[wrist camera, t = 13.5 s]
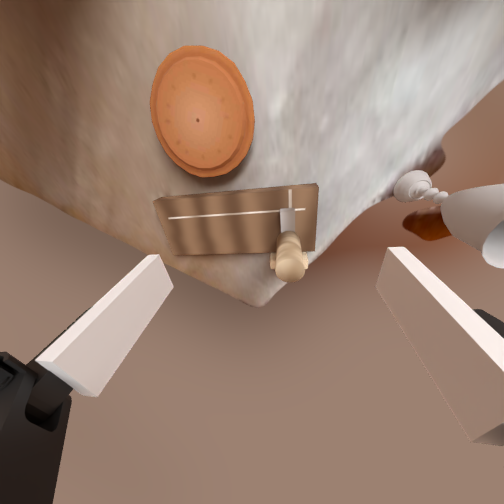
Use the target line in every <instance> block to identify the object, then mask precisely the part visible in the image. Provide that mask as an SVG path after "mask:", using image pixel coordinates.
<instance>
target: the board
mask: <svg viewBox="0 0 504 504" xmlns="http://www.w3.org/2000/svg"><path fill="white" fill-rule="evenodd" d="M318 191H319V187H318V185H317V184H316V183H312V184H301V185H290V186H279V187H269V188H258V189H247V190H236V191H225V192H214V193H203V194H192V195H181V196H170V197H161V198H159V199H157V200H155V201H153V204H154V206H155V209H156V211H157V214H158V216H159V219H160V222H161V224H162V227H163V229H164V232H165V235H166V237H167V240H168V242H169V245H170V247H171V250H172V253H173V255H200V254H234V253H269V252H276V249H277V238H278V236H279V235H280V234H281V219H280V209H283V208H295V233H296V234H297V235H298V236H299V239H300V244H301V250H302V252H304V251H315V239H316V223H317V207H318Z"/></svg>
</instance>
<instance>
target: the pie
mask: <svg viewBox="0 0 504 504" xmlns="http://www.w3.org/2000/svg"><path fill="white" fill-rule="evenodd" d="M150 109H151V117H152V123H153V125H154V128H155V131H156V134H157V137H158V139H159V141H160V143H161V145H162V146H163V148H164V150H165V152H166V153H167V154H168V156H169V157H170V158H171V159H172V160H173V161H174V162H175V163H176V164H177V165H178V166H180V167H181V168H183V169H184V170H186V171H187V172H188V173H191V174H193V175H196V176H199V177H215V176H219V175H223V174H227V173H228V172H230V171H231V170H233V169H234V168H235V167H237V166H238V165H239V163H240V162H241V161H242V160H243V158H244V157H245V156H246V155H247V153H248V150H249V148H250V145H251V143H252V140H253V133H254V123H255V119H254V110H253V101H252V98H251V95H250V93H249V90H248V88H247V85H246V82H245V80H244V79H243V77H242V75H241V74H240V72H239V70H238V68H237V67H236V65H235V63H234V62H232V61H231V60H230V59H228V58H227V57H226V56H225V55H223V54H222V53H221V52H219V51H217V50H214V49H211V48H208V47H205V46H183V47H181V48H179V49H177V50H175V51H173V52H172V53H170V54H169V55H168V56H167V57H166V58H165V60H164V61H163V62H162V63H161V65H160V66H159V67H158V70H157V73H156V76H155V79H154V82H153V85H152V91H151V98H150Z"/></svg>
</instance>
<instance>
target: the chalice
mask: <svg viewBox="0 0 504 504" xmlns="http://www.w3.org/2000/svg"><path fill="white" fill-rule="evenodd" d="M431 187H432V182H431V180H430V178H429V176H428V174H427V173H425V172H424V171H419V170H416V171H411V172H409V173H407V174H405V175H404V176H402V177H401V178H400V179H399V180H398V181H397V183H396V185H395V187H394V191H393V193H394V197H395V198H396V199H397V200H398V201H400V202H410V201H417V200H420V199H422V198H424V199H425V200H427V201H429V200H432V199H433V202H434V203H436V204H439V203H442V204H441V213H442V217H443V221H444V223H445V224H446V226H447V228H448V229H449V231H450V232H451V234H452V235H453V236H454V237H456V238H458V239H459V240H461V241H463V242H465V243H467V244H468V245H470V246H472V247H474V248H476V249H477V250H479V251H481V253H482V255H483V257H484V259H485V260H486V262H487V263H488V264H490V265H492V266H495V267H497V268H504V184H499V185H490V186H482V187H476V188H472V189H467V190H463V191H459V192H456V193H453V194H451V195H450V196H448V193H447V192H440V193H439V190H438V189H437V188H431Z"/></svg>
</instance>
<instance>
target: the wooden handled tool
mask: <svg viewBox="0 0 504 504" xmlns="http://www.w3.org/2000/svg"><path fill="white" fill-rule="evenodd" d="M280 219H281V234H280V235H279V236H278V238H277V249H276V252H271V255H270V268H271V269H275V272H276V275H277V277H278V278H279V279H281V280H282V281H285V282H296V281H298V280H300V279H301V278H302V277H303V276H304V273H305V269H307V268H308V257H307V253H306V251H304V252H302V250H301V244H300V239H299V236H298V235H297V234H296V233H295V208H283V209H280Z"/></svg>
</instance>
